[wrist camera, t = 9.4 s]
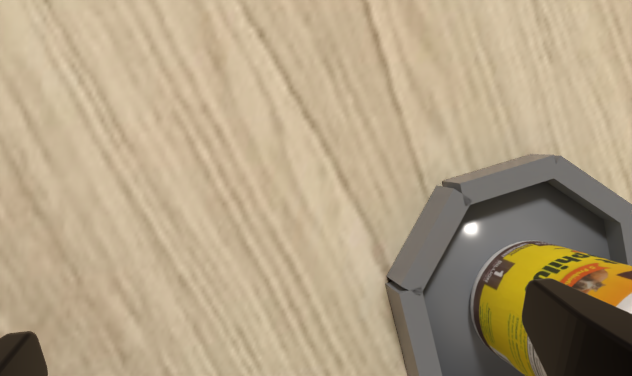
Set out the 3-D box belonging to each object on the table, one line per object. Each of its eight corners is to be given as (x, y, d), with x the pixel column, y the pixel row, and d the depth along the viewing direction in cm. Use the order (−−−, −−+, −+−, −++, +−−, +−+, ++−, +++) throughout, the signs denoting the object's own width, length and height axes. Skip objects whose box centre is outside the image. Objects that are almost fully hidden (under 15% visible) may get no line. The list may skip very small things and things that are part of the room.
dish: (546, 449, 25) (569, 469, 23) (345, 349, 22) (356, 365, 20) (658, 237, 25) (688, 243, 24) (476, 114, 22) (496, 111, 21)
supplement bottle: (562, 225, 23) (833, 283, 13) (577, 337, 24) (845, 473, 14) (454, 253, 22) (661, 339, 12) (472, 370, 23) (683, 543, 13)
